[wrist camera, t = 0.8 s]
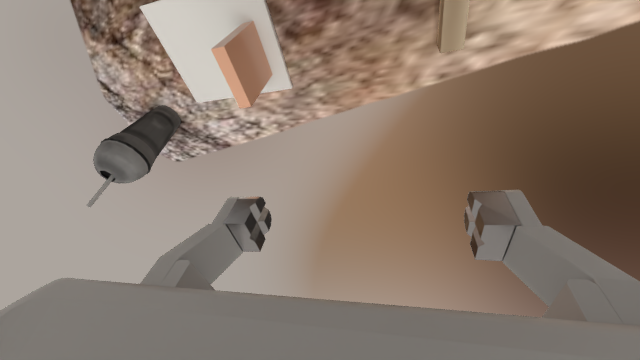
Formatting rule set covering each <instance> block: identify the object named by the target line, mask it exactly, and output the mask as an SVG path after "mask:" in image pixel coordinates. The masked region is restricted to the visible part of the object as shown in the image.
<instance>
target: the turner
mask: <svg viewBox="0 0 640 360" xmlns="http://www.w3.org/2000/svg"><path fill="white" fill-rule="evenodd" d="M469 4H470V0H440V5H439V20H438V35H437V46H438V48H439V51H440V53H444V52H450V51H457V50H463V49H464V42H465V34H466V27H467V19H468V12H469Z"/></svg>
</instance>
